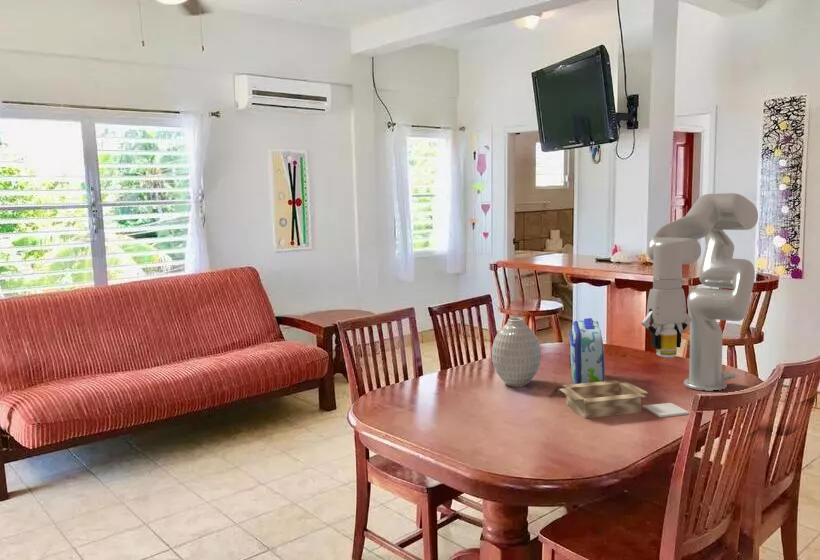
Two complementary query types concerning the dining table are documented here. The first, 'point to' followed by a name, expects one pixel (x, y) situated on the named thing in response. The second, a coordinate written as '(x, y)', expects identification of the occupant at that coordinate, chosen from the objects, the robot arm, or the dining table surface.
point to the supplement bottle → (668, 341)
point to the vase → (516, 353)
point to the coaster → (665, 409)
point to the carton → (603, 398)
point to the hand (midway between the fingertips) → (666, 346)
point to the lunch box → (586, 352)
